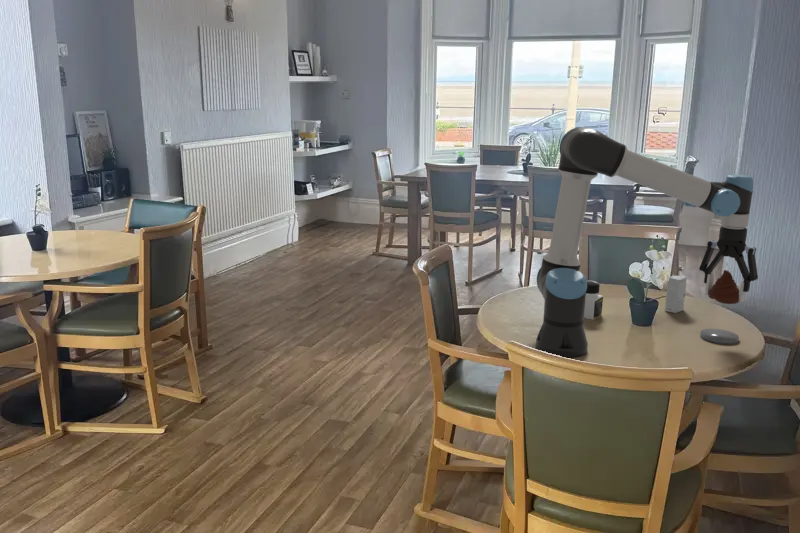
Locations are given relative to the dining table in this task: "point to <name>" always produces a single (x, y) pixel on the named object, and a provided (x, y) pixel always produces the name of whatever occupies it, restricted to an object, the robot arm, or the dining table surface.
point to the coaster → (719, 336)
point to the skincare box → (675, 294)
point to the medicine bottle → (593, 301)
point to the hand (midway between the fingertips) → (724, 297)
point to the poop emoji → (725, 289)
